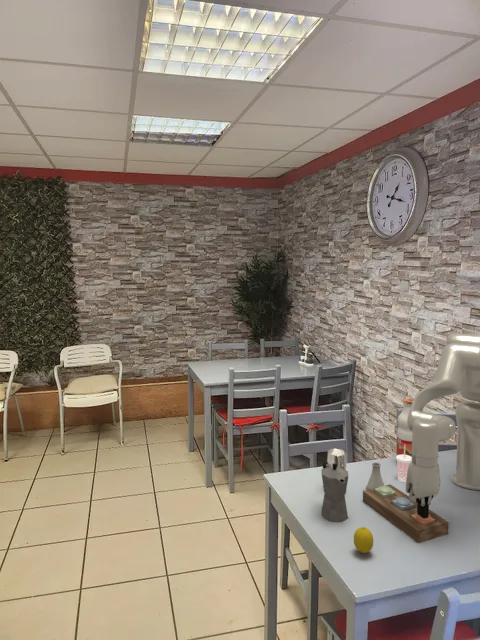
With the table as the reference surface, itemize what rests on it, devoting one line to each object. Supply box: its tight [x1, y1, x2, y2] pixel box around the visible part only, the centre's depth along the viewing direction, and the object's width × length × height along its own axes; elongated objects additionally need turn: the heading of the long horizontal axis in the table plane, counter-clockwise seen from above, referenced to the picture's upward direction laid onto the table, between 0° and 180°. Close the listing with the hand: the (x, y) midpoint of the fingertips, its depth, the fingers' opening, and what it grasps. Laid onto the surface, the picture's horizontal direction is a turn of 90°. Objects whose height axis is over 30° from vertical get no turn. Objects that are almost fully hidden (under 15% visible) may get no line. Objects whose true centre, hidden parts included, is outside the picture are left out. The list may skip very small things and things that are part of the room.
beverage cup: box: [396, 445, 412, 483], centre depth 178 cm, size 6×6×14 cm
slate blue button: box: [392, 497, 414, 511], centre depth 152 cm, size 5×5×3 cm
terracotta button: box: [411, 512, 435, 526], centre depth 143 cm, size 5×5×3 cm
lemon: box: [353, 526, 374, 554], centre depth 133 cm, size 6×6×8 cm
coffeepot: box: [320, 461, 349, 523], centre depth 154 cm, size 15×9×18 cm, turn 13°
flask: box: [365, 461, 385, 490], centre depth 170 cm, size 7×7×10 cm
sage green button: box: [375, 486, 396, 498], centre depth 160 cm, size 5×5×3 cm
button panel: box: [362, 484, 450, 544], centre depth 152 cm, size 12×27×4 cm, turn 22°
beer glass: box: [326, 448, 347, 470], centre depth 170 cm, size 7×7×15 cm
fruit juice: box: [396, 397, 414, 462], centre depth 190 cm, size 9×9×28 cm
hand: (422, 515), depth 143 cm, fingers closed
